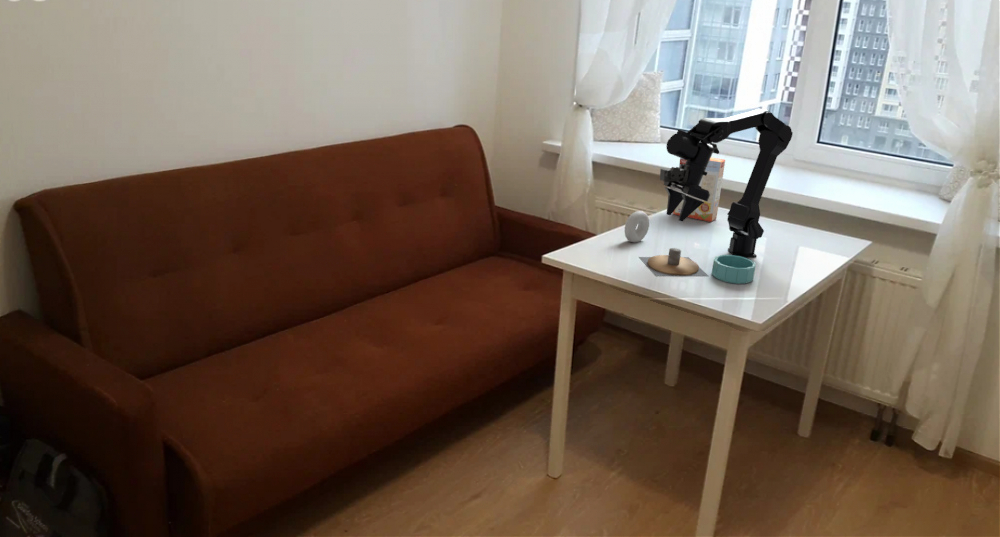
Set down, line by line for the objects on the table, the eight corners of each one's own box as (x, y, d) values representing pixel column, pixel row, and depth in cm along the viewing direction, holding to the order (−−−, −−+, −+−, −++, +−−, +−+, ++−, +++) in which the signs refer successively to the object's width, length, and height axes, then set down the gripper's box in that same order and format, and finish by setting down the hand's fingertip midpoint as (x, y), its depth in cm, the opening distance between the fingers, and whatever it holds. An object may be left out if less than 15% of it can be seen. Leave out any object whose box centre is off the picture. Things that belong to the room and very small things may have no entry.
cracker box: (716, 218, 261) (726, 159, 253) (711, 222, 256) (720, 161, 249) (678, 211, 268) (686, 152, 260) (671, 214, 263) (680, 155, 256)
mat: (688, 258, 220) (688, 257, 220) (708, 277, 206) (708, 276, 206) (638, 258, 218) (638, 256, 217) (655, 277, 204) (655, 276, 204)
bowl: (741, 271, 212) (744, 255, 210) (759, 286, 202) (762, 268, 201) (705, 271, 211) (708, 254, 209) (721, 286, 201) (724, 268, 199)
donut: (629, 247, 227) (633, 214, 224) (620, 243, 229) (623, 212, 226) (649, 241, 234) (653, 209, 230) (640, 238, 236) (644, 207, 232)
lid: (687, 257, 219) (689, 242, 217) (706, 275, 206) (709, 258, 204) (640, 257, 217) (643, 241, 215) (657, 275, 204) (659, 258, 202)
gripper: (658, 151, 213) (637, 203, 216) (683, 158, 196) (660, 214, 198) (692, 164, 216) (671, 215, 219) (720, 172, 198) (697, 228, 201)
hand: (674, 217), depth 209 cm, fingers open, 9 cm apart
